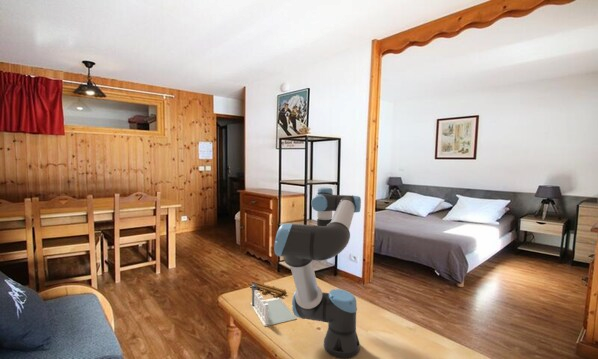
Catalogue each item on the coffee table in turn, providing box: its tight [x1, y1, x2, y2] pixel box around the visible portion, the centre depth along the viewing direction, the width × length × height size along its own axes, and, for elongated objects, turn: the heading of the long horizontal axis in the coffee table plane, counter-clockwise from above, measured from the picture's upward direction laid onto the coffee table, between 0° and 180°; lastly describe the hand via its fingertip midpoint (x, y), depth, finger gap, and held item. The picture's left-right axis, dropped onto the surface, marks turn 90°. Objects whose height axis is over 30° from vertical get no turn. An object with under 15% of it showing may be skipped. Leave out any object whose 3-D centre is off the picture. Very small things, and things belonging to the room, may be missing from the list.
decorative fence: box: [247, 280, 287, 298], centre depth 180 cm, size 25×2×10 cm
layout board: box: [249, 296, 298, 327], centre depth 157 cm, size 25×17×1 cm
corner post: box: [250, 284, 258, 307], centre depth 161 cm, size 3×3×12 cm
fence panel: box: [254, 289, 269, 323], centre depth 151 cm, size 18×2×9 cm, turn 26°
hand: (323, 263), depth 152 cm, fingers closed
